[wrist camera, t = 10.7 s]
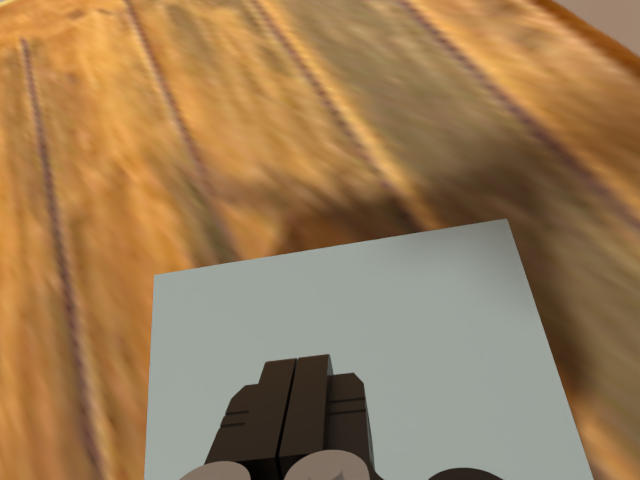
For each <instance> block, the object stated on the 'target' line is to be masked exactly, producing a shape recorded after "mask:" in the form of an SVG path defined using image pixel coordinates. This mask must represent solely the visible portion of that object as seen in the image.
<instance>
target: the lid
mask: <svg viewBox="0 0 640 480" xmlns="http://www.w3.org/2000/svg"><path fill="white" fill-rule="evenodd" d="M324 354H330V357H331V362H332V367H333V374H334V375H336V374H345V373H353V372H354V373H355V374H356V375H357V376H358V378H359V379H360V380H361V381H362V382H363V383H364V388H365V395H366V401H367V408H368V415H369V422H370V428H371V435H372V442H373V453H374V464H375V472H376V473H377V474H378V475H379V476H380V477H381V478H383V479H384V480H428V479H429V478H430V477H432V476H433V475H435V474H437V473H439V472H441V471H444V470H447V469H452V468H475V469H480V470H484V471H486V472H489V473H492V474H494V475H496V476H498V477H500V478H501V479H503V480H593V477H592V474H591V471H590V467H589V464H588V461H587V458H586V455H585V452H584V449H583V446H582V443H581V440H580V437H579V434H578V431H577V428H576V425H575V422H574V419H573V416H572V413H571V410H570V407H569V404H568V401H567V398H566V395H565V392H564V389H563V386H562V383H561V380H560V377H559V374H558V371H557V368H556V365H555V362H554V359H553V356H552V353H551V350H550V347H549V344H548V341H547V338H546V335H545V332H544V329H543V326H542V323H541V320H540V317H539V314H538V311H537V308H536V304H535V301H534V298H533V295H532V292H531V289H530V286H529V283H528V280H527V277H526V274H525V271H524V268H523V265H522V262H521V259H520V256H519V253H518V250H517V247H516V244H515V241H514V238H513V235H512V232H511V229H510V226H509V223H508V220H507V219H500V220H494V221H488V222H482V223H475V224H469V225H463V226H457V227H450V228H444V229H438V230H432V231H426V232H419V233H413V234H407V235H401V236H394V237H388V238H382V239H376V240H370V241H363V242H357V243H351V244H345V245H338V246H332V247H326V248H320V249H314V250H307V251H301V252H295V253H289V254H282V255H276V256H270V257H264V258H258V259H251V260H245V261H239V262H233V263H226V264H220V265H214V266H208V267H201V268H195V269H189V270H183V271H177V272H170V273H164V274H158V275H154V292H153V312H152V332H151V352H150V372H149V393H148V413H147V433H146V453H145V473H144V480H179V479H180V478H182V477H183V476H184V475H186V474H187V473H188V472H190V471H192V470H194V469H196V468H198V467H200V466H202V465H204V463H205V460H206V458H207V456H208V453H209V451H210V448H211V446H212V443H213V441H214V439H215V436H216V434H217V431H218V429H219V428H220V424H221V422H222V419H223V417H224V416H225V412H226V410H227V407H228V405H229V402H230V400H231V398H232V397H233V396H234V395H235V394H236V393H237V392H239V391H240V390H241V389H242V388H243V387H244V386H245V385H252V384H258V382H259V379H260V376H261V373H262V370H263V367H264V364H265V362H267V361H275V360H283V359H292V358H297V359H298V358H299V357H307V356H316V355H324Z"/></svg>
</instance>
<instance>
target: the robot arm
mask: <svg viewBox="0 0 640 480" xmlns="http://www.w3.org/2000/svg"><path fill="white" fill-rule="evenodd" d="M179 480H384V479H383V478H381V477H380V476H379V475H378V474H377V473H376V472H375V464H374V453H373V442H372V435H371V428H370V422H369V415H368V408H367V401H366V395H365V388H364V383H363V382H362V381H361V380H360V379H359V378H358V376H357V375H356V374H355V373H354V372H353V373H345V374H336V375H334V374H333V367H332V362H331V357H330V354H324V355H316V356H307V357H299V358H298V359H297V358H292V359H283V360H275V361H267V362H265V364H264V367H263V370H262V373H261V376H260V379H259V382H258V384H252V385H245V386H244V387H243V388H242V389H241V390H240V391H239V392H237V393H236V394H235V395H234V396H233V397H232V398H231V400H230V402H229V405H228V407H227V410H226V412H225V416H224V417H223V419H222V422H221V424H220V428H219V429H218V431H217V434H216V436H215V439H214V441H213V443H212V446H211V448H210V451H209V453H208V456H207V458H206V460H205V463H204V465H202V466H200V467H198V468H196V469H194V470H192V471H190V472H188V473H187V474H186V475H184V476H183V477H182V478H180V479H179ZM428 480H503V479H501V478H500V477H498V476H496V475H494V474H492V473H489V472H486V471H484V470H480V469H475V468H452V469H447V470H444V471H441V472H439V473H437V474H435V475H433V476H432V477H430V478H429V479H428Z"/></svg>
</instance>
